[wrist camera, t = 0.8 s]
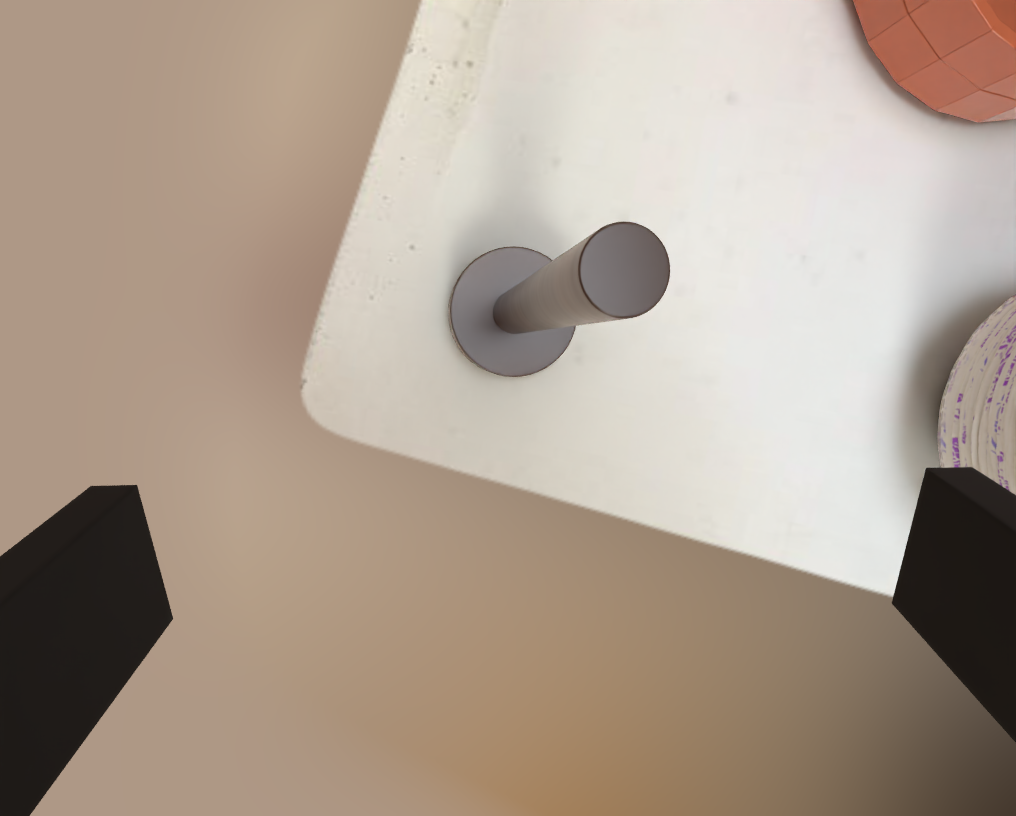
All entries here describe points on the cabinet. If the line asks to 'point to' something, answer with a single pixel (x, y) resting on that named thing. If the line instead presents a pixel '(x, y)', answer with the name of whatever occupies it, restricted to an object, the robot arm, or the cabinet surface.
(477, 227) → the cabinet surface
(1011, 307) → the paper bowls
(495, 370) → the dowel on disc base
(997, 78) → the bowl
